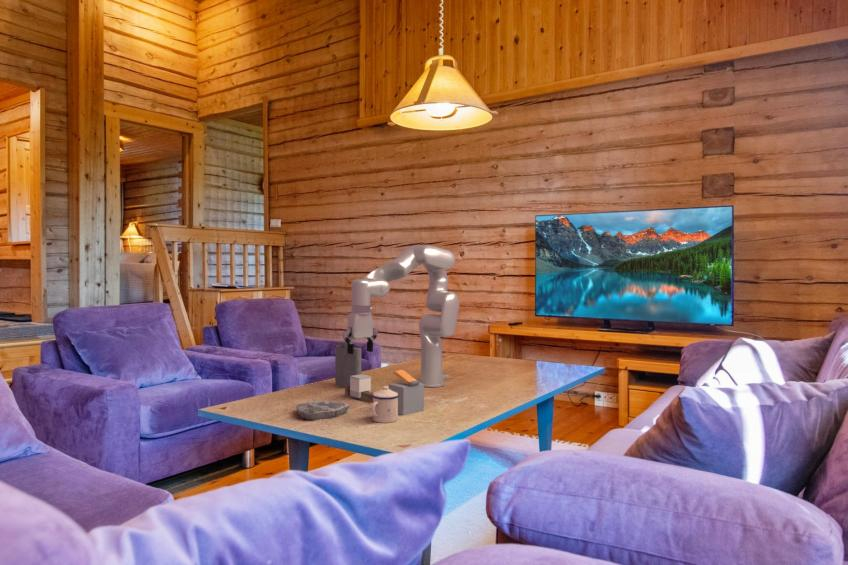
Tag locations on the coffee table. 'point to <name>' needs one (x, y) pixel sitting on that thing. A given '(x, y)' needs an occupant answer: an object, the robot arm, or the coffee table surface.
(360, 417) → the coffee table surface
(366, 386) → the block
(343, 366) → the hip flask
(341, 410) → the brain slice
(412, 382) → the lever
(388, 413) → the teacup with lid
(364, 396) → the rail
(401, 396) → the cabinet
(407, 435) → the coffee table surface
